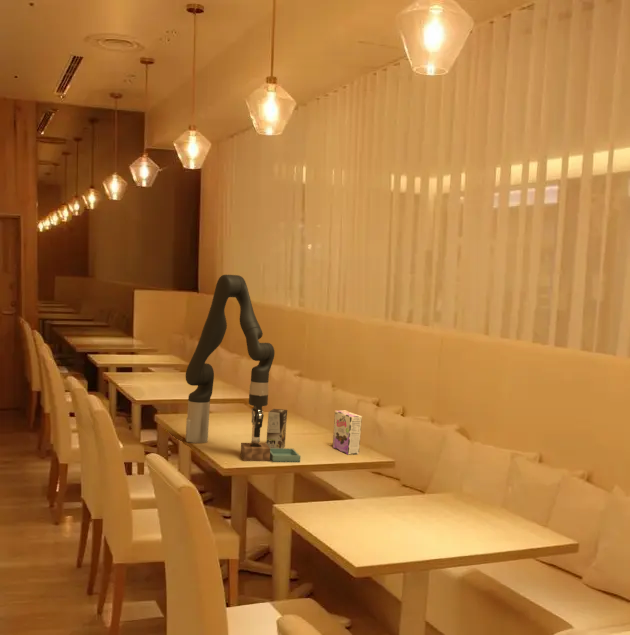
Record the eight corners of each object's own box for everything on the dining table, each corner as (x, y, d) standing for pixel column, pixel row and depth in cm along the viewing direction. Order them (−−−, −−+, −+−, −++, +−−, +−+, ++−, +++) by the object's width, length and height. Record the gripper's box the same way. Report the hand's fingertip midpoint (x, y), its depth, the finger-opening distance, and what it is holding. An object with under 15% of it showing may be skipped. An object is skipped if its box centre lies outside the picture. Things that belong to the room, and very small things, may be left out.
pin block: (244, 461, 305) (245, 448, 305) (240, 455, 315) (241, 442, 315) (269, 461, 308) (270, 448, 308) (264, 455, 318) (265, 443, 317)
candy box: (331, 447, 340) (334, 410, 340) (343, 447, 343) (346, 409, 342) (347, 455, 328) (350, 416, 327) (359, 454, 331) (362, 415, 330)
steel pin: (251, 450, 310) (253, 425, 309) (250, 449, 313) (252, 424, 312) (259, 451, 310) (261, 426, 310) (258, 449, 313) (259, 424, 313)
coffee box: (280, 451, 327) (282, 412, 326) (265, 449, 328) (267, 411, 327) (285, 446, 336) (287, 409, 335) (270, 445, 337) (273, 408, 336)
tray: (272, 462, 307) (273, 455, 306) (266, 454, 319) (267, 448, 319) (300, 462, 309) (300, 456, 309) (292, 454, 322) (293, 448, 322)
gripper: (246, 389, 316) (243, 432, 317) (252, 395, 302) (249, 439, 303) (264, 390, 318) (262, 432, 319) (271, 396, 304) (268, 440, 305)
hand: (255, 435), depth 311 cm, fingers closed on steel pin, 3 cm apart
